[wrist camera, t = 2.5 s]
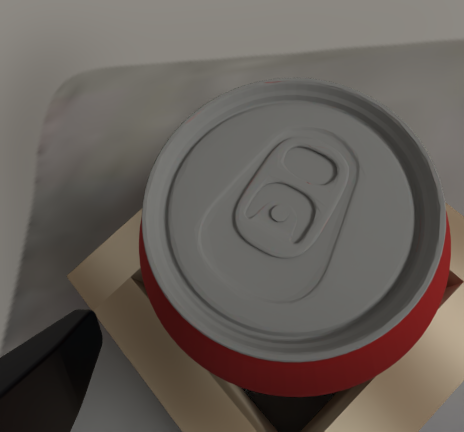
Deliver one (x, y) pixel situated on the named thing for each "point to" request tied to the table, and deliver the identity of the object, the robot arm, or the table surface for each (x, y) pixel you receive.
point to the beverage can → (294, 237)
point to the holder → (232, 396)
